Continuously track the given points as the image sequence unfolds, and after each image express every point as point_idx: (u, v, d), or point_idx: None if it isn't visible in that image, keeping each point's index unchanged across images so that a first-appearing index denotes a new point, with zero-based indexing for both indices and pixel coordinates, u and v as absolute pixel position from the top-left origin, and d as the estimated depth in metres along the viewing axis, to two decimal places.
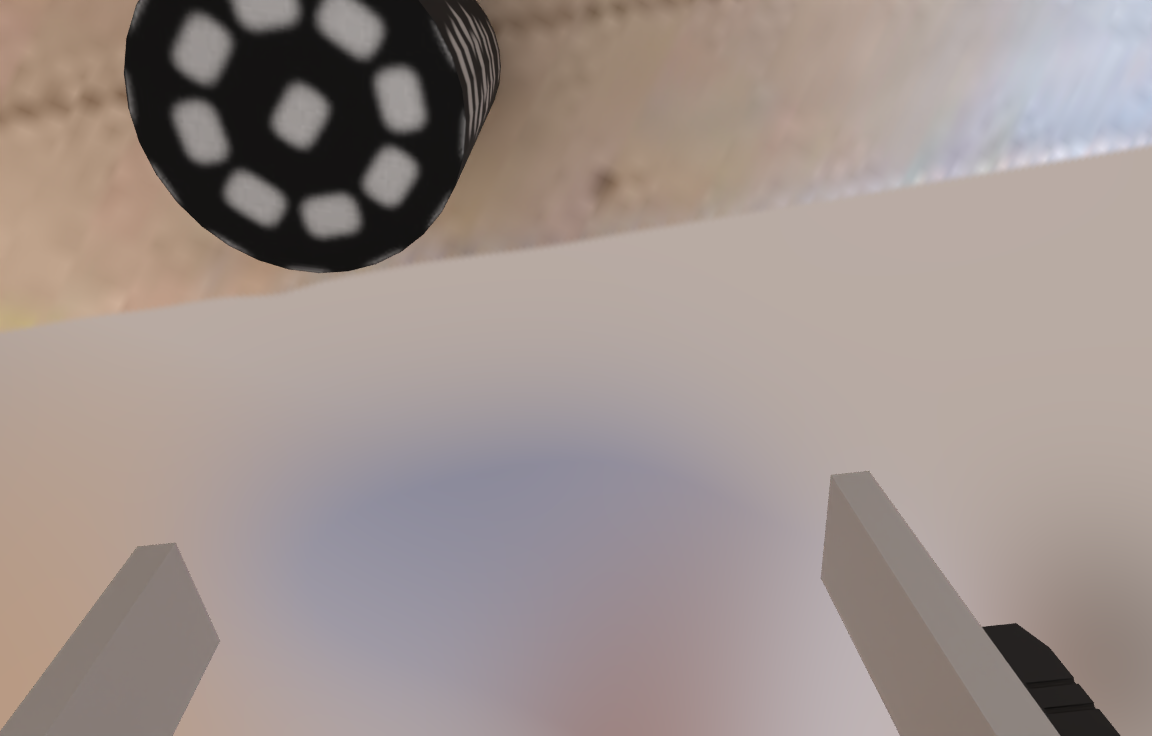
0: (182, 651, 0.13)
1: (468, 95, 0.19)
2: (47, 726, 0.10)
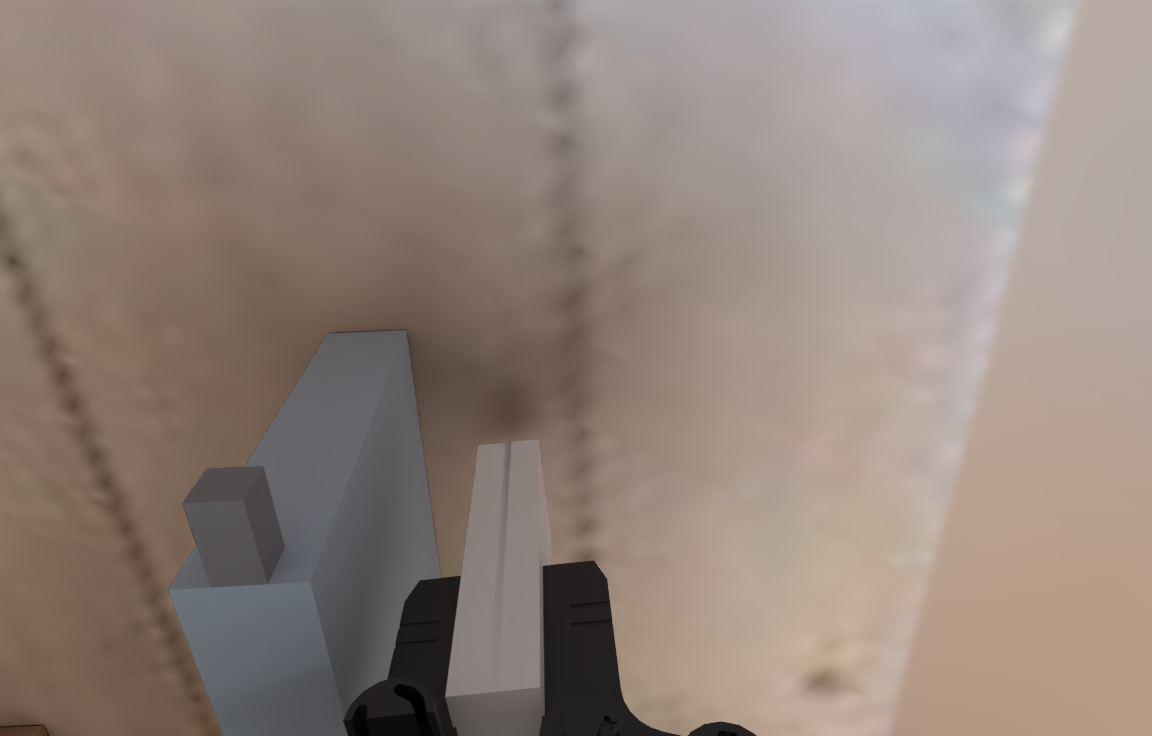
0: None
1: None
2: (500, 565, 0.12)
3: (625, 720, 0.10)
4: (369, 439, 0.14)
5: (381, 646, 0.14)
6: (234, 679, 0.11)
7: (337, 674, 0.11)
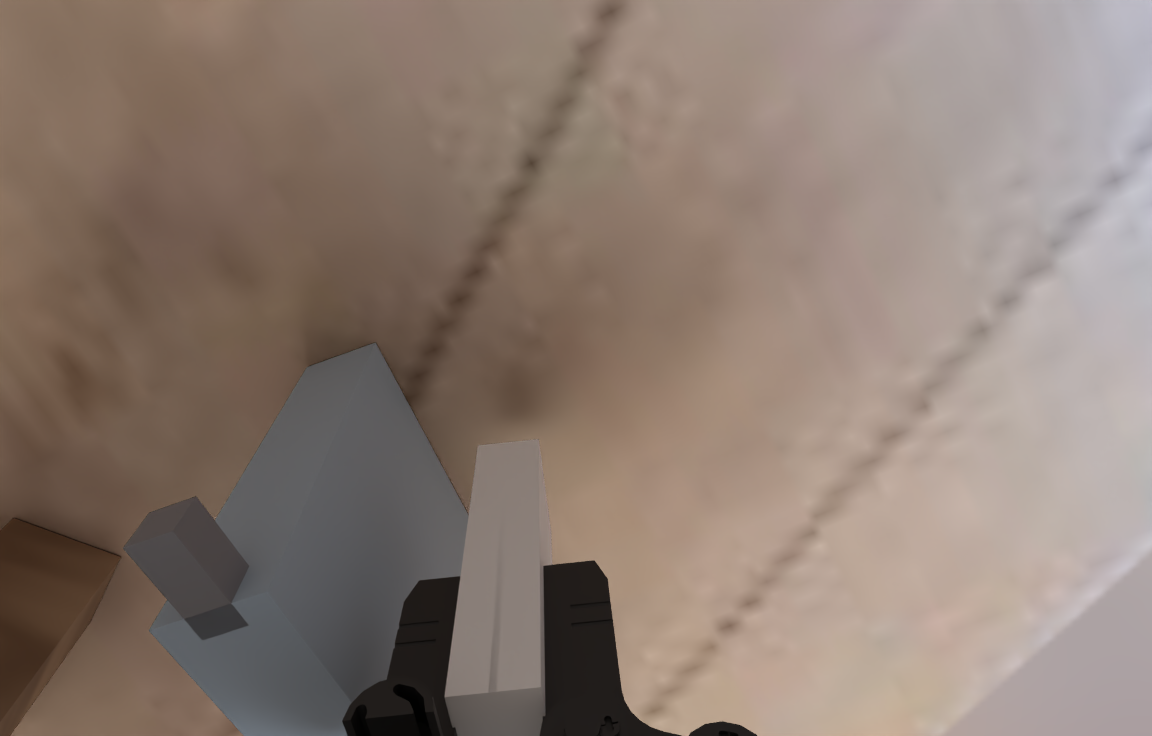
0: None
1: None
2: (500, 565, 0.12)
3: (626, 720, 0.10)
4: (336, 450, 0.14)
5: None
6: (244, 698, 0.11)
7: (335, 672, 0.12)
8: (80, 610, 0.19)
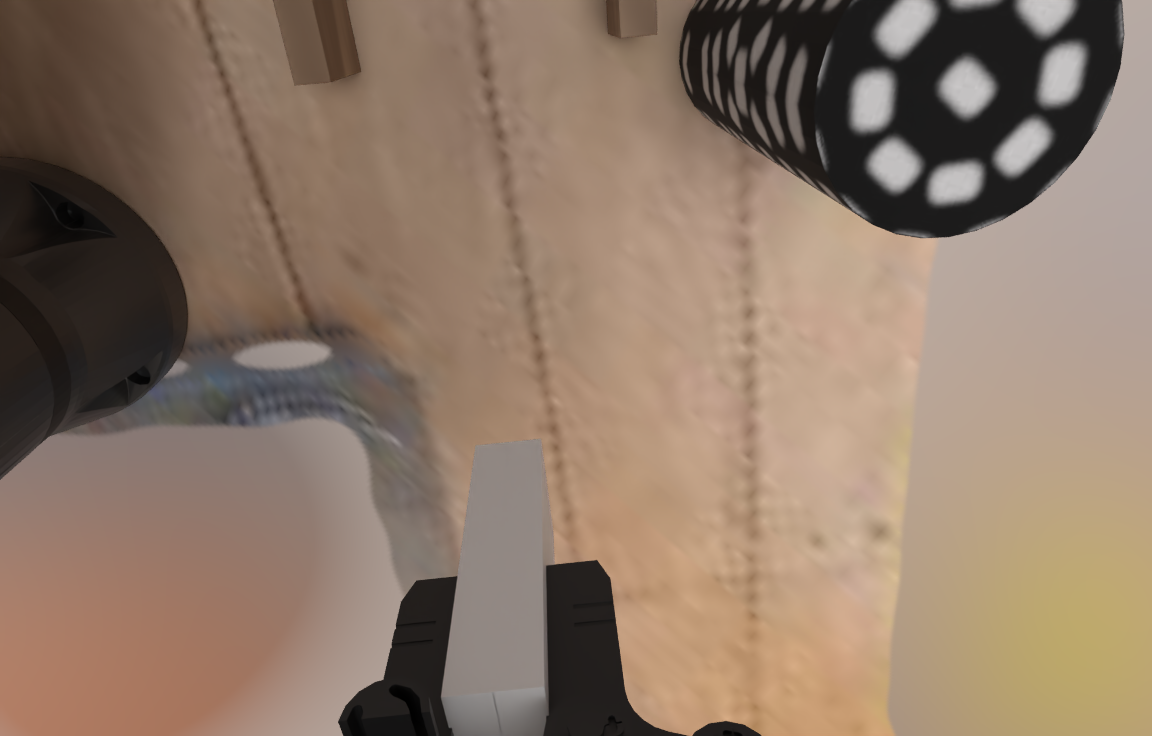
0: None
1: None
2: (496, 565, 0.12)
3: (629, 720, 0.10)
4: None
5: None
6: None
7: None
8: None
